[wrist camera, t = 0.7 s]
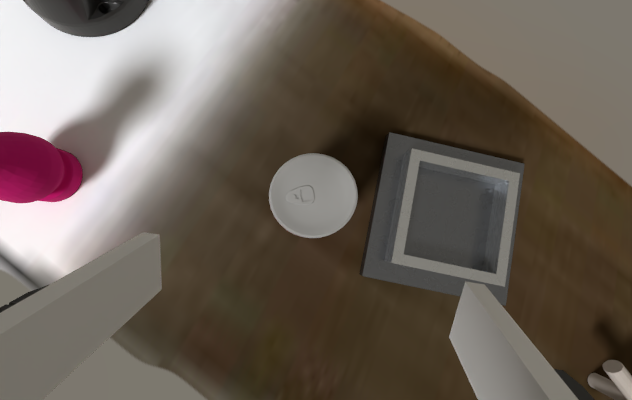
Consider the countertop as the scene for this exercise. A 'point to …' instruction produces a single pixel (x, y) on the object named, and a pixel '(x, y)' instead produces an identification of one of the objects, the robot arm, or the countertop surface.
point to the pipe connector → (613, 381)
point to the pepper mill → (35, 170)
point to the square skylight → (442, 217)
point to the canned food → (313, 195)
